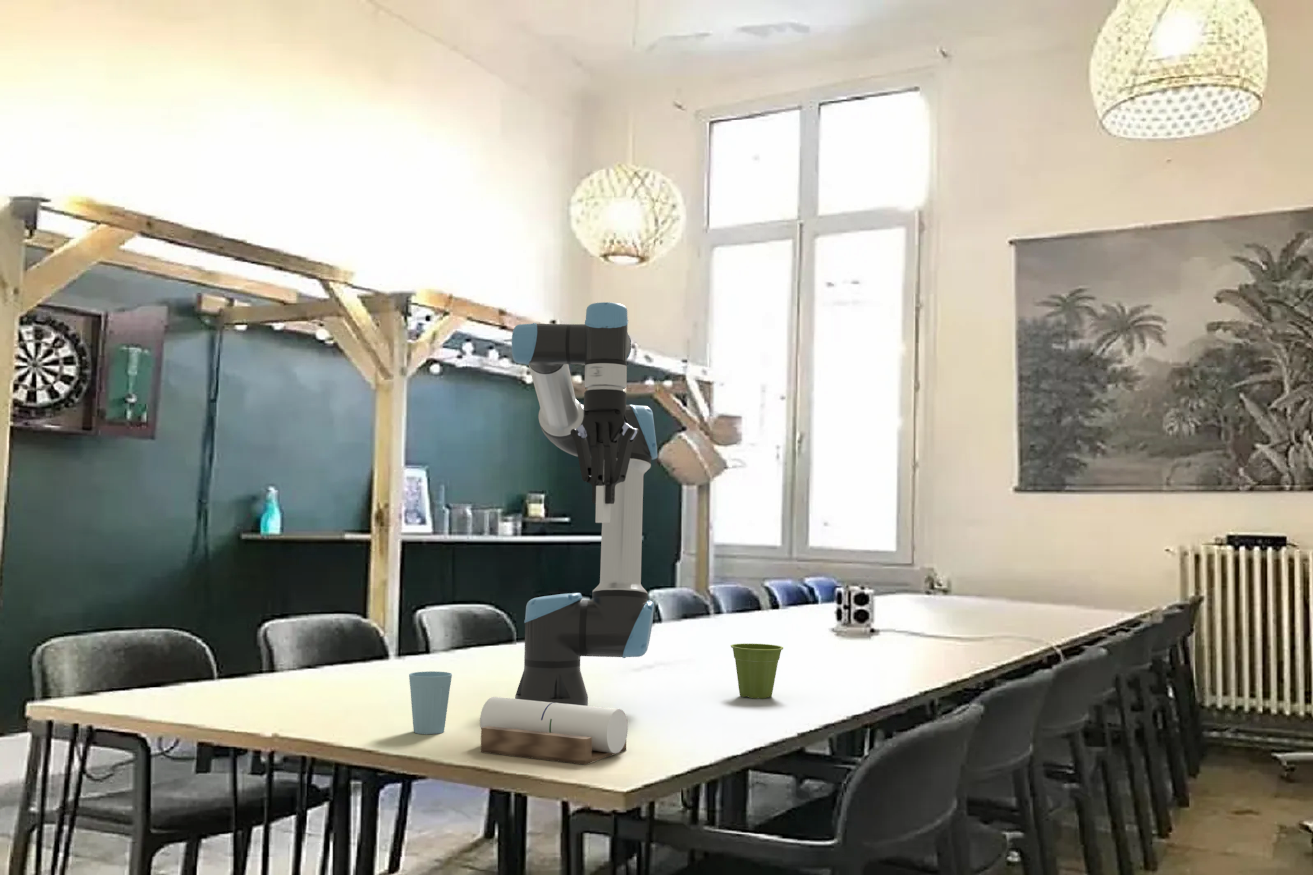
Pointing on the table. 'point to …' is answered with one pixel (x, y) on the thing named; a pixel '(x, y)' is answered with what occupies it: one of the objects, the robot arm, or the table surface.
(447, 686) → the cup
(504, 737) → the walnut U-channel
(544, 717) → the cylindrical container
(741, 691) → the plant pot
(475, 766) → the table surface
